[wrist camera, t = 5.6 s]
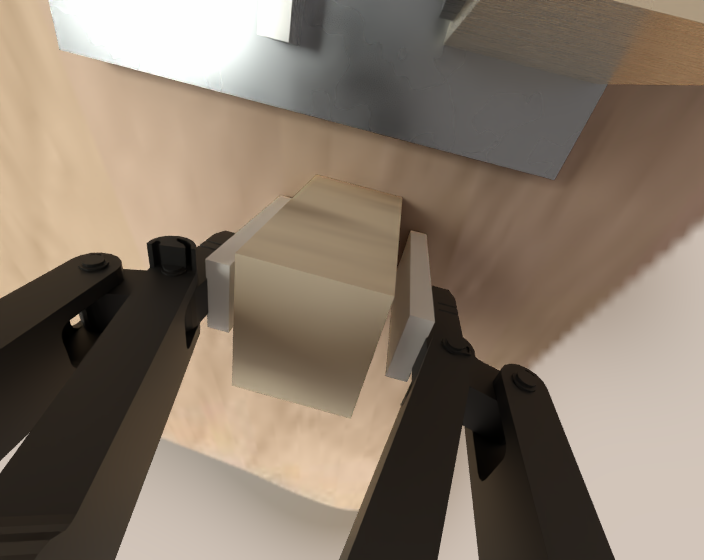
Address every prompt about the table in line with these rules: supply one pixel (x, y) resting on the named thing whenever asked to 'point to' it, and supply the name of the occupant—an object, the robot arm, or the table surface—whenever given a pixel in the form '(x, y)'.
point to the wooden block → (316, 295)
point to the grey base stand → (408, 61)
